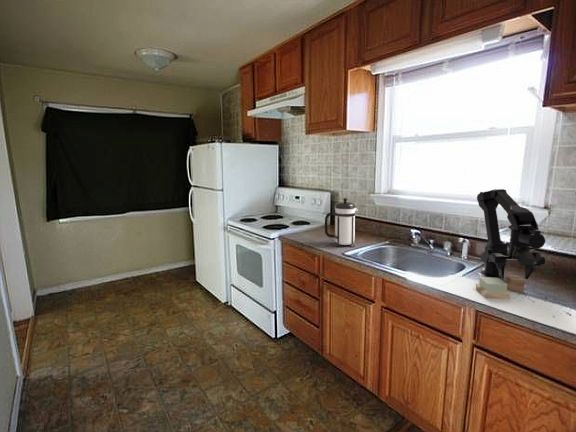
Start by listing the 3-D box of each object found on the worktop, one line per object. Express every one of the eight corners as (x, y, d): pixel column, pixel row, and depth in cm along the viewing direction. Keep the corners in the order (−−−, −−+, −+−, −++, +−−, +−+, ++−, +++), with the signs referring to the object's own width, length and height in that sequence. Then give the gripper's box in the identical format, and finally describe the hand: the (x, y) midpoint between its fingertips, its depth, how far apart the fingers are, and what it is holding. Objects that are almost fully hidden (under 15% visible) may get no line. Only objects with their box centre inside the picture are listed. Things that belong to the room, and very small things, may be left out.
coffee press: (343, 240, 212) (344, 195, 207) (361, 245, 199) (362, 198, 194) (323, 244, 203) (323, 198, 197) (341, 250, 190) (342, 200, 184)
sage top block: (479, 284, 130) (479, 277, 129) (497, 284, 129) (498, 277, 128) (487, 291, 123) (487, 283, 123) (506, 291, 122) (507, 284, 122)
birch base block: (475, 290, 131) (476, 283, 131) (497, 291, 130) (498, 284, 130) (485, 299, 123) (486, 292, 122) (509, 300, 122) (509, 292, 121)
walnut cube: (503, 286, 134) (504, 275, 133) (516, 286, 133) (517, 275, 132) (510, 291, 129) (511, 279, 128) (523, 291, 128) (525, 279, 127)
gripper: (504, 247, 121) (500, 285, 123) (558, 247, 118) (552, 287, 121) (489, 239, 132) (486, 275, 134) (539, 240, 129) (534, 276, 132)
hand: (514, 278), depth 130 cm, fingers open, 9 cm apart
